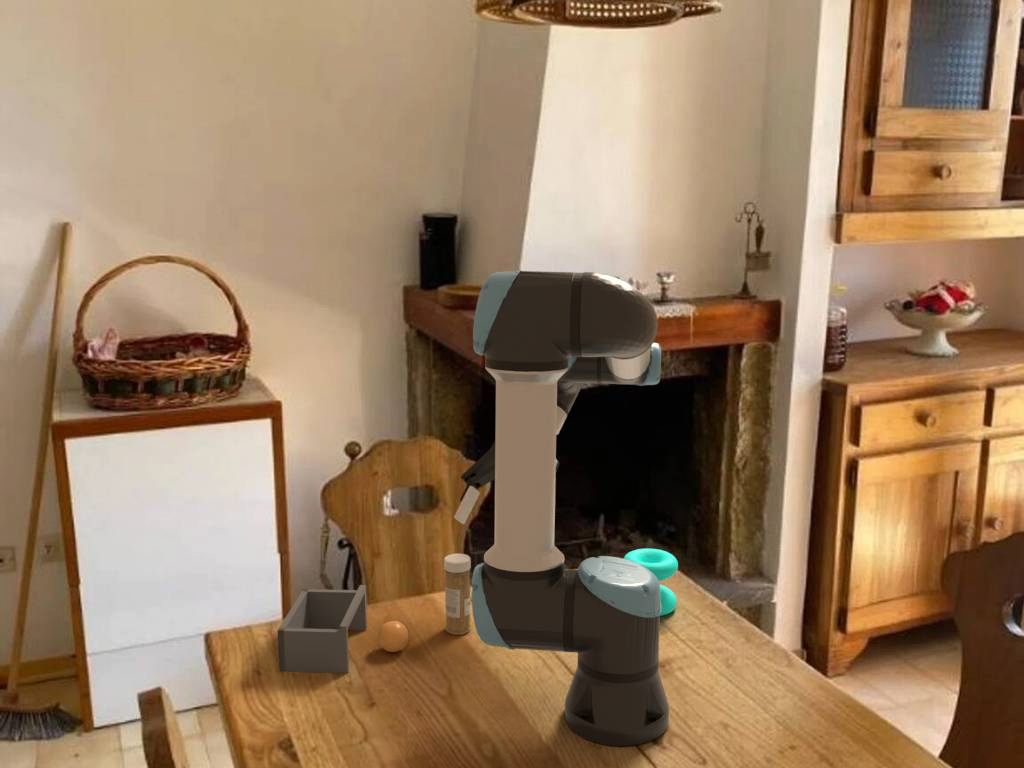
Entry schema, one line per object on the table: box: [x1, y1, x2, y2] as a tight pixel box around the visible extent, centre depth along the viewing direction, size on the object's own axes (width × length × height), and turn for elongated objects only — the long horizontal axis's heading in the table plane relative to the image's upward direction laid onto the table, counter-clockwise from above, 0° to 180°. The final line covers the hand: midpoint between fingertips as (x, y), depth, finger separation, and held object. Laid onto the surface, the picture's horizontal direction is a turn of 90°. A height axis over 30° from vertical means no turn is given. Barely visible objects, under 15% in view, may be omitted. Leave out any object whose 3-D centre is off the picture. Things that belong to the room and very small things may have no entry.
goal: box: [276, 584, 368, 674], centre depth 164 cm, size 16×11×8 cm
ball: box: [377, 620, 409, 653], centre depth 163 cm, size 5×5×5 cm
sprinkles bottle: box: [443, 553, 472, 636], centre depth 170 cm, size 5×5×14 cm
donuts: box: [623, 548, 679, 617], centre depth 179 cm, size 10×10×10 cm
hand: (487, 531), depth 174 cm, fingers open, 13 cm apart
